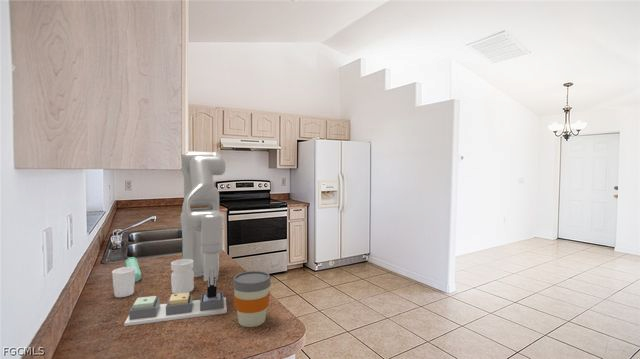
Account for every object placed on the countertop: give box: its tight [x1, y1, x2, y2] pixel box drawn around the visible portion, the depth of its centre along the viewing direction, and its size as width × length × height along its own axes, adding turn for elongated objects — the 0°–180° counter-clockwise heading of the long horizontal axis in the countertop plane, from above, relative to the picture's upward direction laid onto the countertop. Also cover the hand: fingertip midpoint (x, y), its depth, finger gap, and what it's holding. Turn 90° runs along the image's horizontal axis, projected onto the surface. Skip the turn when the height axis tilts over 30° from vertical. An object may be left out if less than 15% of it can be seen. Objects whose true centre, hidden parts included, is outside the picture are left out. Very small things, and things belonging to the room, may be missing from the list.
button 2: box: [169, 292, 190, 306], centre depth 114 cm, size 6×6×3 cm
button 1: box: [132, 295, 157, 310], centre depth 110 cm, size 6×6×3 cm
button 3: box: [203, 293, 221, 302], centre depth 117 cm, size 6×6×3 cm
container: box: [124, 256, 142, 283], centre depth 151 cm, size 6×6×25 cm
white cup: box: [111, 266, 136, 298], centre depth 128 cm, size 8×8×10 cm
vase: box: [170, 258, 195, 294], centre depth 133 cm, size 9×9×12 cm
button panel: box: [123, 291, 228, 327], centre depth 114 cm, size 12×32×4 cm, turn 108°
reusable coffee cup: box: [232, 270, 271, 328], centre depth 108 cm, size 13×13×15 cm
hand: (212, 296), depth 117 cm, fingers closed
